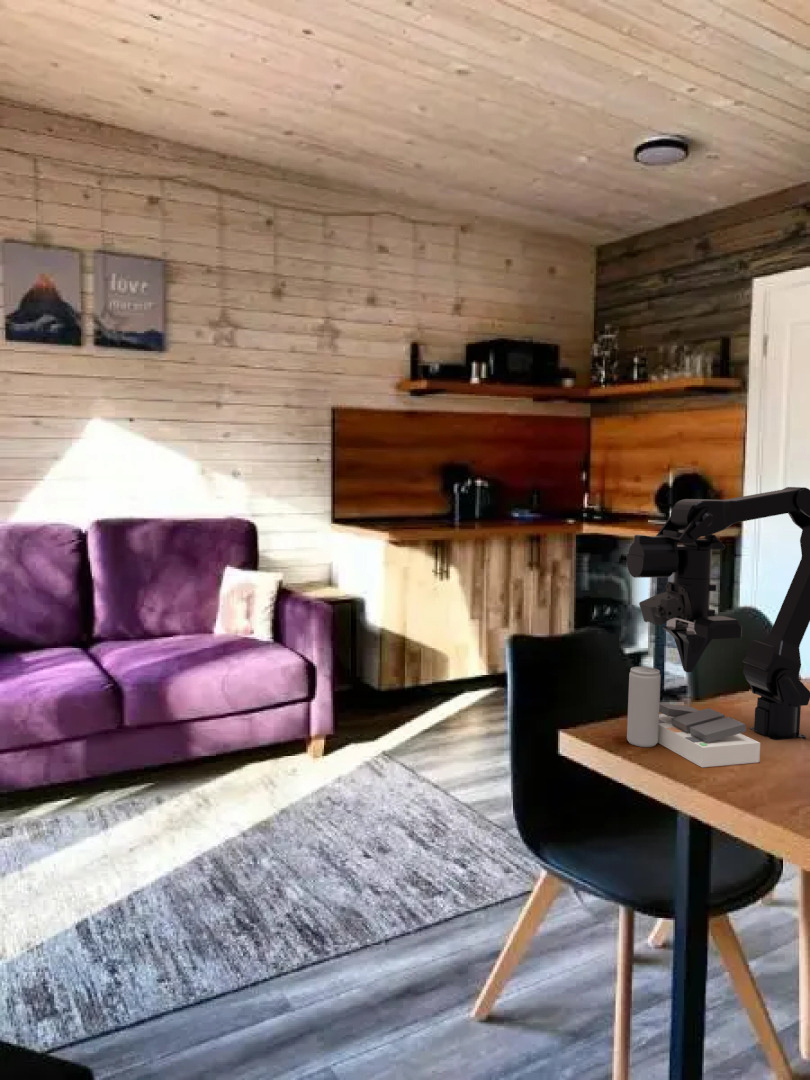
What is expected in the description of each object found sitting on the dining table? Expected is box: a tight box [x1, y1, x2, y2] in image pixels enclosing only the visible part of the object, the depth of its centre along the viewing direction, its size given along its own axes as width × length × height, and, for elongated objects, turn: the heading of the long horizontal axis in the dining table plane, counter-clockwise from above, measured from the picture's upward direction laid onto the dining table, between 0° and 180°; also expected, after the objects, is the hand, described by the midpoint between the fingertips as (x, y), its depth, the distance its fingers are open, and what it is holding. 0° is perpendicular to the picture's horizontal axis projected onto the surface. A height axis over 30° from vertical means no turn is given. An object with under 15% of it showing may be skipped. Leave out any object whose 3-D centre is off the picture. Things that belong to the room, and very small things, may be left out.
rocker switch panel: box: [657, 713, 761, 768], centre depth 136 cm, size 10×17×3 cm, turn 16°
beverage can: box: [626, 666, 662, 748], centre depth 137 cm, size 5×5×12 cm
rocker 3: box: [690, 716, 747, 743], centre depth 131 cm, size 7×4×1 cm, turn 106°
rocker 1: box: [659, 702, 700, 717], centre depth 140 cm, size 7×4×1 cm, turn 106°
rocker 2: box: [671, 707, 726, 733], centre depth 136 cm, size 7×4×1 cm, turn 106°
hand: (687, 671), depth 140 cm, fingers closed
